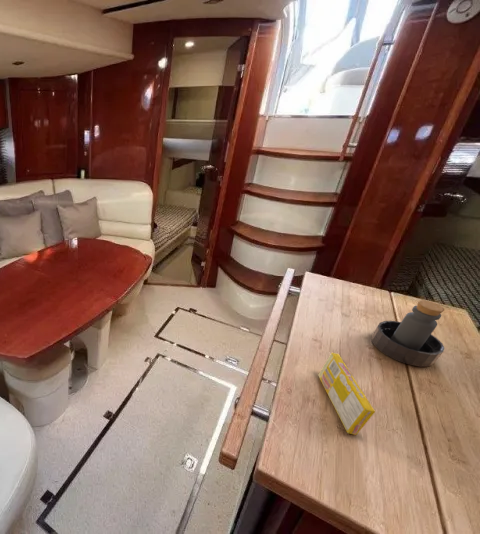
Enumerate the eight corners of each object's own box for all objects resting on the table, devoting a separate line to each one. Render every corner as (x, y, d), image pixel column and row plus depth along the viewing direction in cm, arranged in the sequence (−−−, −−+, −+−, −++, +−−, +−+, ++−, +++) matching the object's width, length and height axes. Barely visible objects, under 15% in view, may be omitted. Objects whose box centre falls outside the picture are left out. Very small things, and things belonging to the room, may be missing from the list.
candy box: (358, 436, 64) (376, 412, 60) (346, 433, 65) (363, 409, 61) (326, 376, 78) (339, 353, 74) (317, 374, 78) (329, 351, 74)
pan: (414, 338, 89) (423, 325, 86) (446, 372, 78) (457, 358, 76) (361, 330, 92) (369, 317, 90) (385, 362, 81) (394, 348, 79)
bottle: (389, 338, 88) (417, 296, 81) (417, 349, 85) (449, 306, 77) (385, 347, 85) (413, 305, 78) (414, 359, 81) (446, 315, 74)
